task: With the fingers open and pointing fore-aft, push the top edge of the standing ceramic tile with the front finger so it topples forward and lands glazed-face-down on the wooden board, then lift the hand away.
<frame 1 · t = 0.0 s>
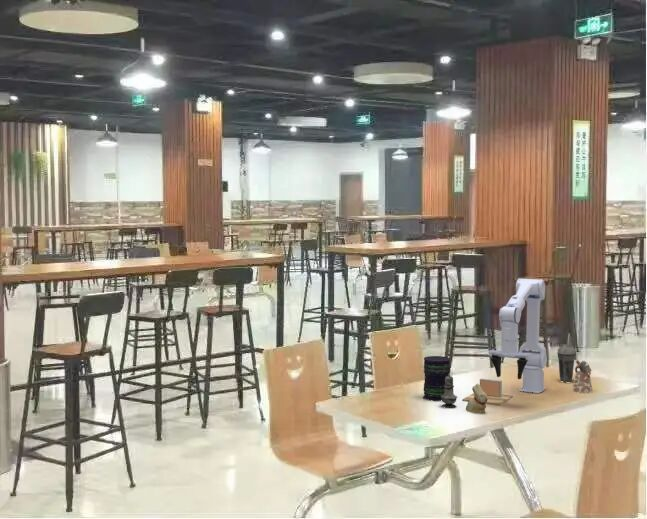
hand: (509, 377, 296), 10 cm above the table, tool pointing down, fingers open, 7 cm apart
wooden board: (487, 398, 306), on the table
beverage cup: (565, 382, 336), on the table
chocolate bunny: (476, 412, 288), on the table
salt shaker: (448, 407, 295), on the table
tile: (490, 395, 309), point 1 cm above the table, touching wooden board
figurine: (582, 391, 319), on the table
storage jar: (436, 398, 308), on the table
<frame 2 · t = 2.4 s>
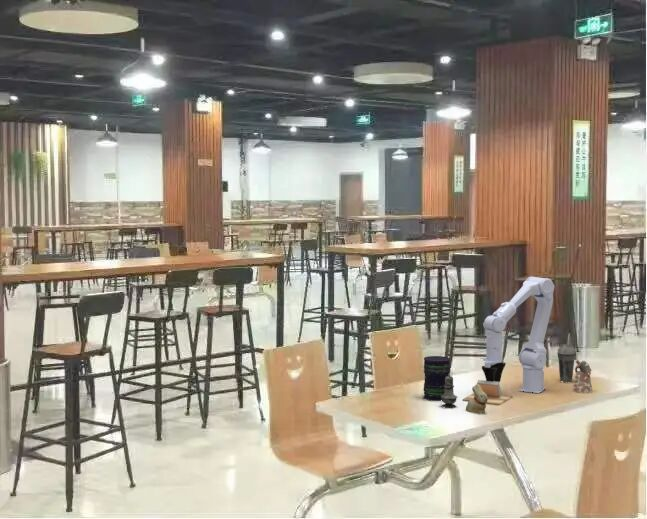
hand: (493, 383, 312), 5 cm above the table, tool pointing down, fingers open, 7 cm apart
tile: (490, 394, 309), point 1 cm above the table, tilted 29°, touching wooden board
everything else where it was.
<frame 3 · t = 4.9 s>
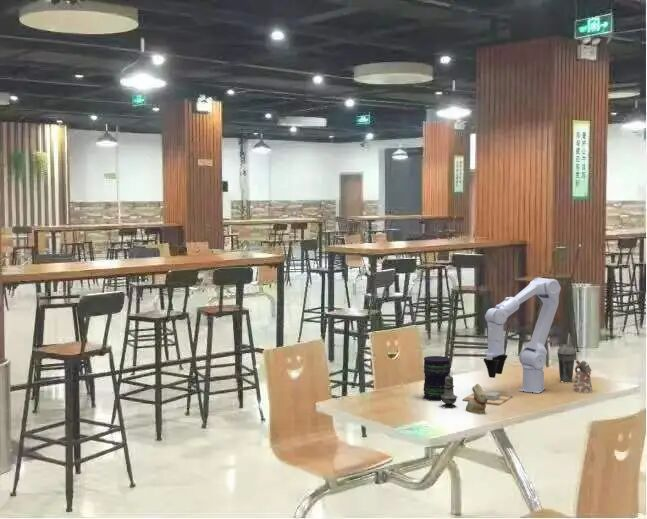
hand: (495, 375, 313), 7 cm above the table, tool pointing down, fingers open, 7 cm apart
tile: (489, 393, 308), point 2 cm above the table, tilted 90°, touching wooden board
everything else where it was.
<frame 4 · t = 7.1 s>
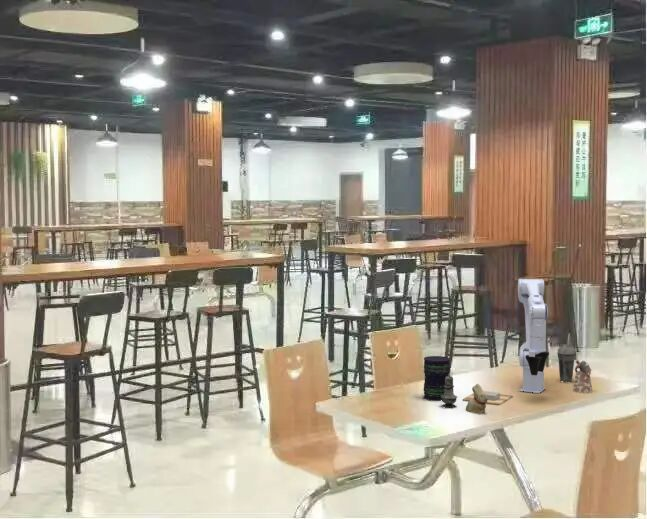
hand: (537, 373, 304), 10 cm above the table, tool pointing down, fingers open, 7 cm apart
nothing on the table moved.
at the end: tile tilted 90°; tile inside the target area (3.1 cm from its centre), point 1.5 cm above the table; the gripper is holding nothing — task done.
